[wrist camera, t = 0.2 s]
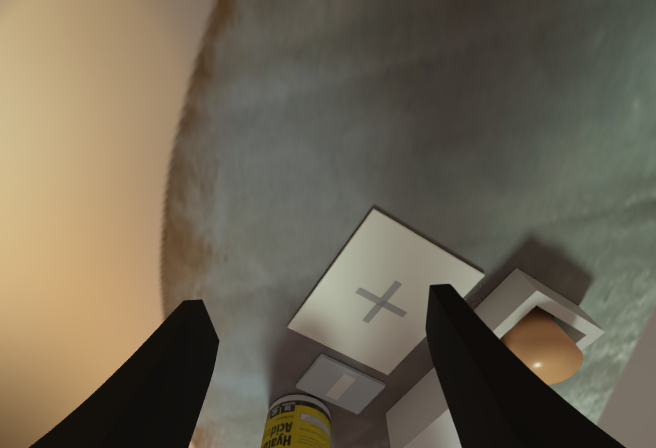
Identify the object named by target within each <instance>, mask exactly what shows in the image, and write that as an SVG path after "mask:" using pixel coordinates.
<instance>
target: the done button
mask: <svg viewBox="0 0 656 448" xmlns="http://www.w3.org/2000/svg"><path fill="white" fill-rule="evenodd" d="M500 340H501V341H502V342H503V343H504V344H505V345H506V346H507V347H508V348H509V349H510V350H511V351H512V352H513V353H514V354H515V355H516V356H517V357H518V358H519V359H520V360H521V361H522V362H523V363H524V364H525V365H526V366H527V367H528V368H529V369H530V370H532V371H533V372H534V373H535V374H536V375H537V376H538V377H539V378H540V379H541V380H542V381H544V382H545V383H546V384H547V385H550V384H555V383H559V382H561V381H564V380H566V379H567V378H569V377H571V376H572V375H573V374H574V373H575V372H576V371H577V370H578V369H579V368H580V366H581V364H582V360H583V355H582V352H581V350H580V349H579V348H578V346H577V345H576V344H575V343H574V342H573V341H572V340H571V339H570V337H569V336H568V335H567V334H566V333H565V332H564V331H563V329H562V328H561V327H560V326H559V325H558V324H557V323H556V321H555V320H554V319H553V318H552V317H551V316H550V315H549V314H548V313H547V312H546V311H544V310H542V309H538V308H533V309H532V310H531V311H530V312H529V313H527V314H526V315H525V316H524V317H523V318H522V319H521V320H520V321H519V322H518V323H516V324H515V325H514V326H513V327H512V328H511V329H510V330H509V331H508V332H507V333H505V334H504V335H503V336H502V337H501V338H500Z"/></svg>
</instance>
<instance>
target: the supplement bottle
mask: <svg viewBox="0 0 656 448" xmlns="http://www.w3.org/2000/svg"><path fill="white" fill-rule="evenodd" d="M330 443H331V416H330V413H329V410H328V409H327V407H326V406H325V405H324V404H323V403H322V402H321V401H319V400H317V399H315V398H313V397H310V396H306V395H288V396H285V397H282V398H280V399H279V400H277V401H276V402H275V403H274V404H273V405H272V406H271V407H270V409H269V412H268V415H267V420H266V424H265V429H264V434H263V439H262V444H261V448H330Z"/></svg>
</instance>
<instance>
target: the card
mask: <svg viewBox="0 0 656 448" xmlns="http://www.w3.org/2000/svg"><path fill="white" fill-rule="evenodd" d="M385 387H386V385H385V383H384V382H381V381H379V380H377V379H375V378H373V377H371V376H369V375H367V374H364V373H362V372H360V371H358V370H356V369H354V368H352V367H350V366H347V365H345V364H343V363H341V362H339V361H337V360H335V359H333V358H330V357H328V356H326V355H324V354H322V353H321V354H320V356H319V357H318V358H317V359H316V360H315V362H314V363H313V364H312V365H311V367H310V368H309V369H308V370H307V371H306V373H305V374H304V375H303V376H302V377H301V379H300V380H299V381H298V382H297V384H296V388H298V389H300V390H303V391H305V392H307V393H309V394H312V395H314V396H316V397H319V398H321V399H323V400H325V401H328V402H330V403H332V404H335V405H337V406H339V407H341V408H344V409H346V410H348V411H351V412H353V413H355V414H357V415H358V414H359V413H360V412H361V411H362V410H363V409H364V408H365V407H366V406H367V405H368V404H369V403H370V402H371V401H372V400H373V399H374V398H375V397H376V396H377V395H378V394H379V393H380V392H381V391H382V390H383V389H384V388H385Z"/></svg>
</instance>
